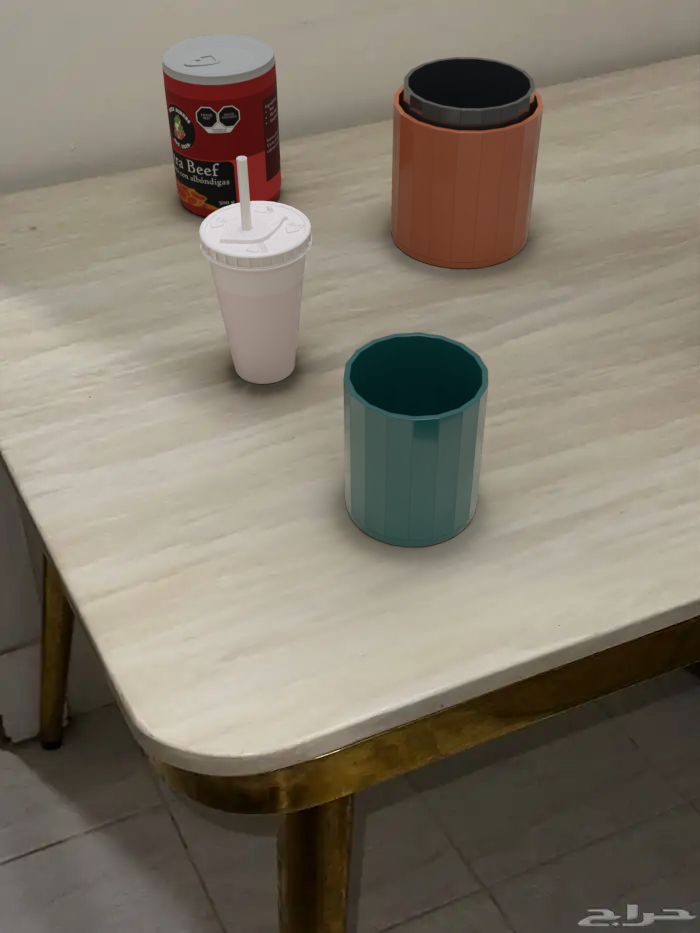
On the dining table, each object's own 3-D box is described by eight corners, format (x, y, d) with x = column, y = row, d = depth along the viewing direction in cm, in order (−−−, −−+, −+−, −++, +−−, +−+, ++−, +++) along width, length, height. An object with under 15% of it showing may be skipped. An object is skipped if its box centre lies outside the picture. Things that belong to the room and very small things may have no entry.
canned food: (158, 195, 85) (139, 52, 78) (241, 162, 89) (230, 24, 82) (218, 232, 81) (204, 85, 73) (302, 197, 85) (297, 54, 77)
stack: (498, 192, 85) (509, 63, 78) (548, 257, 78) (566, 121, 71) (374, 209, 83) (375, 79, 76) (415, 277, 76) (420, 141, 69)
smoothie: (193, 362, 69) (166, 152, 60) (275, 324, 72) (262, 118, 63) (254, 411, 65) (236, 196, 56) (337, 369, 68) (334, 158, 59)
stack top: (493, 197, 84) (506, 51, 77) (536, 253, 78) (555, 101, 71) (385, 212, 83) (387, 64, 75) (421, 271, 77) (427, 117, 69)
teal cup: (450, 447, 63) (459, 322, 57) (495, 533, 58) (510, 405, 52) (331, 469, 61) (328, 344, 56) (366, 559, 56) (367, 431, 51)
